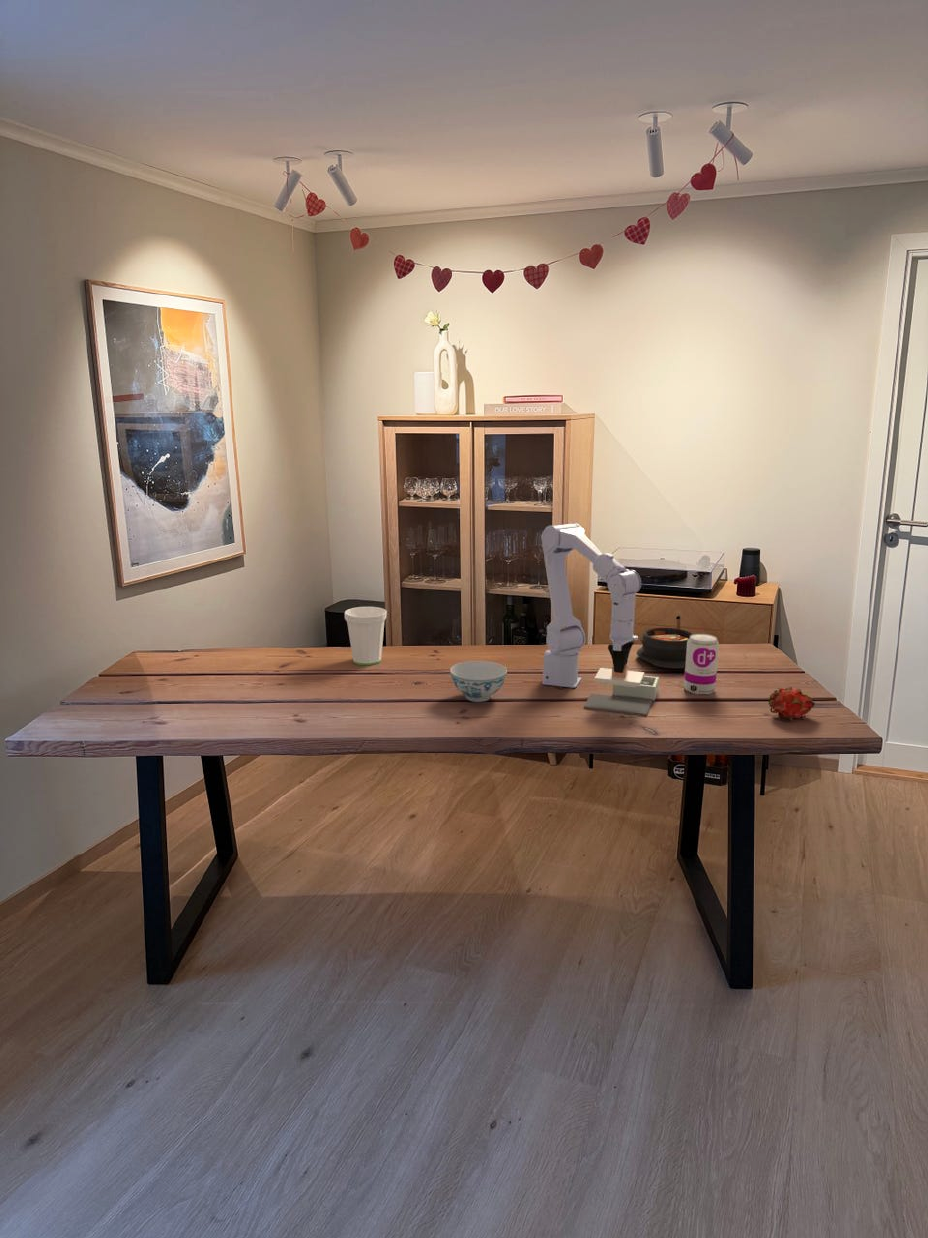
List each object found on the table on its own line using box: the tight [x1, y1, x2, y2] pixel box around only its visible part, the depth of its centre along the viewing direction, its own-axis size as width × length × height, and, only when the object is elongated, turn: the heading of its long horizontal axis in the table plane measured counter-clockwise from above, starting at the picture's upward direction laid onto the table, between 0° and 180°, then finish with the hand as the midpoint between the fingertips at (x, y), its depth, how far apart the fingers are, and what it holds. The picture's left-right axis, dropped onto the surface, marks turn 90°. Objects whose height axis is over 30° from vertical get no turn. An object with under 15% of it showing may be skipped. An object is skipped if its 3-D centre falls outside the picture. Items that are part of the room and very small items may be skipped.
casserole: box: [636, 627, 694, 670], centre depth 258 cm, size 25×19×8 cm
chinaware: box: [449, 660, 508, 703], centre depth 227 cm, size 15×15×8 cm
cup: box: [344, 606, 388, 666], centre depth 256 cm, size 12×12×15 cm
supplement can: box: [683, 633, 720, 695], centre depth 232 cm, size 8×8×15 cm
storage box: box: [611, 675, 660, 702], centre depth 231 cm, size 11×8×4 cm
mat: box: [583, 693, 653, 717], centre depth 223 cm, size 16×10×1 cm, turn 71°
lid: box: [593, 663, 645, 687], centre depth 221 cm, size 11×8×4 cm
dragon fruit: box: [768, 686, 816, 721], centre depth 215 cm, size 8×8×12 cm
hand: (620, 669), depth 220 cm, fingers closed on lid, 3 cm apart
